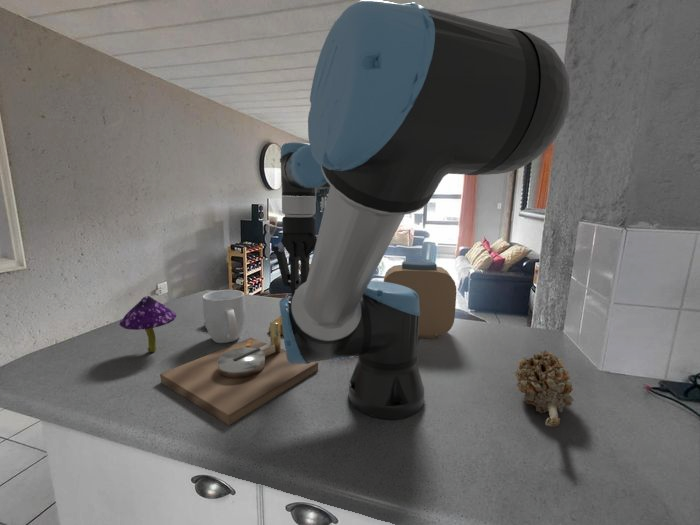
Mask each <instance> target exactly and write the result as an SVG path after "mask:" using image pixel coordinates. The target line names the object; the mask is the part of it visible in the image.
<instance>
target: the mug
mask: <svg viewBox="0 0 700 525" xmlns="http://www.w3.org/2000/svg"><path fill="white" fill-rule="evenodd" d="M202 308H203V318H204V322H205V324H206V327H207V329H206V330H207V332H208V336H210V338H211V339H212V340H213V342H215V343H218V344H228V343H231V342H235V341H236V340H238V339H239V338H240V336H241V334H242V332H243V329H244V326H245V321H246V320H245V319H246V301H245V293H244V292H243V291H241V290H237V289H222V290H214V291H209V292H207V293H204V294H203V295H202ZM206 327H205V328H206Z"/></svg>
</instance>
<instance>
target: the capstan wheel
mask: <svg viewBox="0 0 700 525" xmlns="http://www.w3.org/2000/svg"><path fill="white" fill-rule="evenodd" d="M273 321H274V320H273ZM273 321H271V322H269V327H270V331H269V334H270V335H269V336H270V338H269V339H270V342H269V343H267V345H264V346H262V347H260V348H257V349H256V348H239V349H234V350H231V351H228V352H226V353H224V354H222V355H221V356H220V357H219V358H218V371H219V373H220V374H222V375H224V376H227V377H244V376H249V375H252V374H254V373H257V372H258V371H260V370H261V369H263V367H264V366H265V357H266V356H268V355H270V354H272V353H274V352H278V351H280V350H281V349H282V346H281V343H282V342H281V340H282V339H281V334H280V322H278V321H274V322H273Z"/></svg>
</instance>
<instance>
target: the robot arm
mask: <svg viewBox="0 0 700 525" xmlns="http://www.w3.org/2000/svg"><path fill="white" fill-rule="evenodd" d="M313 75H314V76H313V79H312V83H311V89H310V95H309V103H310V109H309V111H308V116H307V117H308V118H307V135H308V142H309V143H307V142H295V141H294V142H288V143H287V142H286V143H284V144H282V145H281V147H280V158H279V163H280V172H281V173H280V174H281V175H280V176H281V177H280V178H281V213H282V215H284V216H283V217H282V219H281V220H282V221H281V222H282V224H281V225H282V228H281V229H282V237H281V239H280V242H278V243H277V244H275V245H272V247H271V249H272V252H273V253H274V255H275V256H276V260H277V263H278V269H279V272H280V276H281V280H282V285H283V286H284V287H289V288H290V290H291V296H289V295H288V296H287V297H283V298H281V299H280V300H279V303H278V304H279V311H280V312H279V313H280V316H281V321H282V328H283V335H282V336H283V342H284V350H286V357H287V360H288V361H289V362H290V363H292V364H309V363H310V362H321V361H322V362H323V361H327V360H335V359H340V358H347V357H354V356H357V361H356V364H355V366H354V369H353V372H352V374H351V377H350V380H349V382H348V383H349V384H348V398H349V401H350V403H351V405H352V407H354V408H355V409H357V410H358V411H359V412H361V413H363V414H365V415H368V416H370V417H372V418H378V419H382V420H397V419H398V420H399V419H404V418H408V417H410V416H414V415H415V414H416V413H418V412H419V411H420V410H421V409H422V408H423V406H424V402H425V386H424V383H423V379H422V376H421V373H420V370H419V366H418V347H419V346H418V345H419V338H418V329H419V316H420V306H419V296H418V294H417V293H416V292H415V291H414V290H412V289H410V288H408V287H405V286H402V285H398V284H394V283H388V282H384V281H382V280H381V281H378V280H372V279H373V278H374V275H375V273H376V272H377V269H378V267H379V265H380V264H381V262H382V259H383V257H384V256H385V254H386V252H387V250H388V247H389V246H390V244H391V243H392V241H393V238H394V237H395V235H396V232H397V231H398V228H399V227H400V225H401V223H402V221H403V220H404V217H405V216H406V215H410V214H413V213H416V212H417V211H420V210H422V209H423V208H424V207H425V206H427V204H429V202H430V200H431V199H432V197H433V195H434V194H435V192H436V190H437V188H438V187H439V185H440V183H441V181H442V180H443V179H444V178H445V177H446V176H447V175H448V174H451V175H465V176H479V175H482V176H485V175H500V174H505V173H509V172H513V171H516V170H519V169H521V168H524V167H525V166H527V165H529V164H530V163H532V162H533V161H535V160H537V158H539V157H540V156H541V155H542V154H543V153H545V152H546V151H547V150H548V148H550V146H551V145H552V143H553V142H554V141H555V140H556V138H557V137H558V136H559V133H560V131H561V130H562V128H563V126H564V124H565V120H566V118H567V114H568V112H569V106H570V99H571V87H570V78H569V75H568V72H567V68H566V66H565V64H564V61H562V59H561V57H560V56H559V54H558V53H557V51H556V50H555V49H554V48H553V47H552V46H551V44H549V43H548V42H547V41H546V40H545V39H542V38H540V37H538V36H536V35H535V34H534V33H531V32H528V31H524V30H521V29H520V30H519V29H516V28H506V27H504V26H503V27H502V26H499V25H494V24H490V23H487V22H482V21H480V20H474V19H470V18H467V17H464V16H460V15H456V14H452V13H448V12H444V11H440V10H436V9H432V8H429V7H425V6H422V5H420V4H419V2H418V3H417V2H404V3H396V2H391V1H385V0H359V1H357V2H354V3H353V4H351V5H349V6H348V7H347V8H346V9H345V10H343V12H342V13H341V14H340V16H339V17H338V18H337V19H336V20H335V21H334V22H333V24H332V26H331V28H330V30H329V32H328V33H327V36H326V38H325V40H324V43H323V46H322V47H321V51H320V53H319V56H318V60H317V63H316V67H315V70H314V73H313ZM316 189H328V194H327V196H326V197H327V198H326V202H325V206H324V209H323V213H322V217H321V222H320V226H319V229H318V234H317V235H316V233H317V231H316V230H317V229H316V228H317V221H316V220H317V219H316V217H315V214H316V212H317V210H316V206H317V205H316V199H317V198H316ZM285 251H286V252H287V253H288V257H289V258H288V260H289V263H288V260H287V256H286V255H287V254H286V252H285ZM312 252H313V254H312ZM311 254H312V258H311ZM310 258H311V262H310Z"/></svg>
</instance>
